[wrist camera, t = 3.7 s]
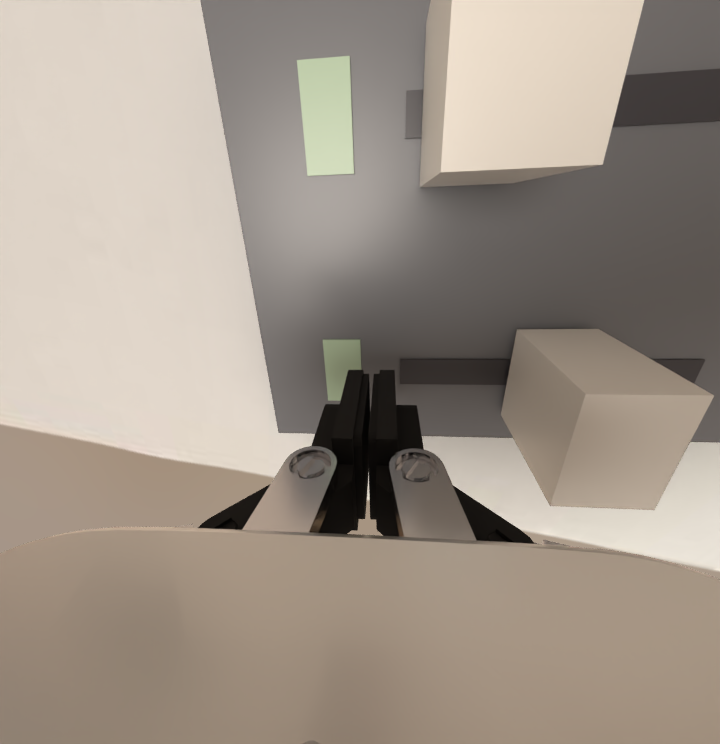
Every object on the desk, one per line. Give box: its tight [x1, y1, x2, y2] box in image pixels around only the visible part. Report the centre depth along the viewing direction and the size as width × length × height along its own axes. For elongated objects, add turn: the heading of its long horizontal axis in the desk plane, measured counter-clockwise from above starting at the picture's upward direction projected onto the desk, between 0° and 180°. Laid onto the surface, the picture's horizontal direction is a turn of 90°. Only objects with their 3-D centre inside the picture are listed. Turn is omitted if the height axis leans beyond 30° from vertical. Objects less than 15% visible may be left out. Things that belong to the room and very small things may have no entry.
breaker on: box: [420, 0, 644, 187], centre depth 8 cm, size 3×4×5 cm
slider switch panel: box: [201, 0, 720, 442], centre depth 13 cm, size 24×16×3 cm, turn 92°
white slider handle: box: [501, 329, 714, 510], centre depth 11 cm, size 3×4×5 cm
